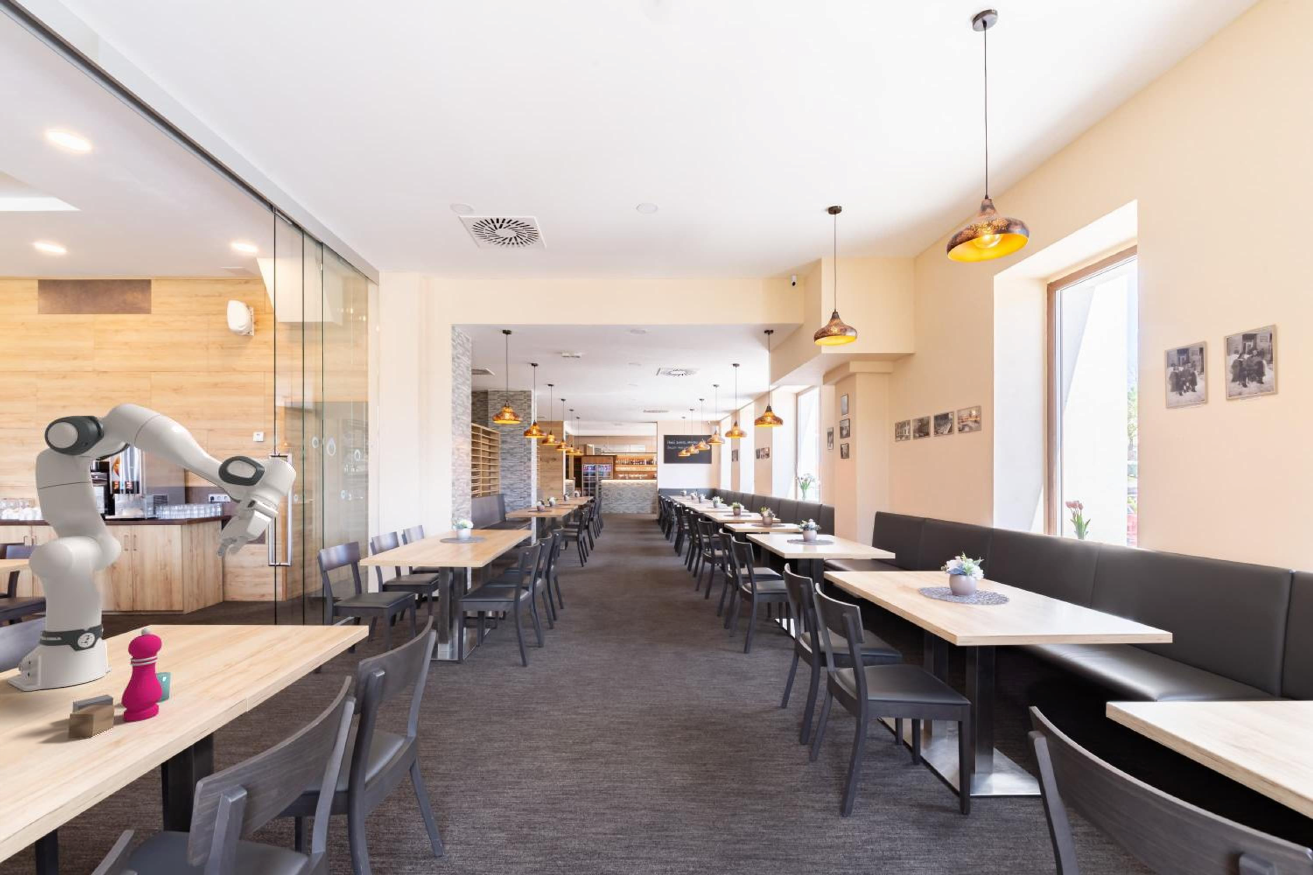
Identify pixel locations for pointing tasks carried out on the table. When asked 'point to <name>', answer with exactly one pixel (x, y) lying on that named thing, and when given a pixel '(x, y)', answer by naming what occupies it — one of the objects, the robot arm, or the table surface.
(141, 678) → the pepper mill
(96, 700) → the charcoal block
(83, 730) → the walnut block
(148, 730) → the table surface
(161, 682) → the teal glazed cylinder
